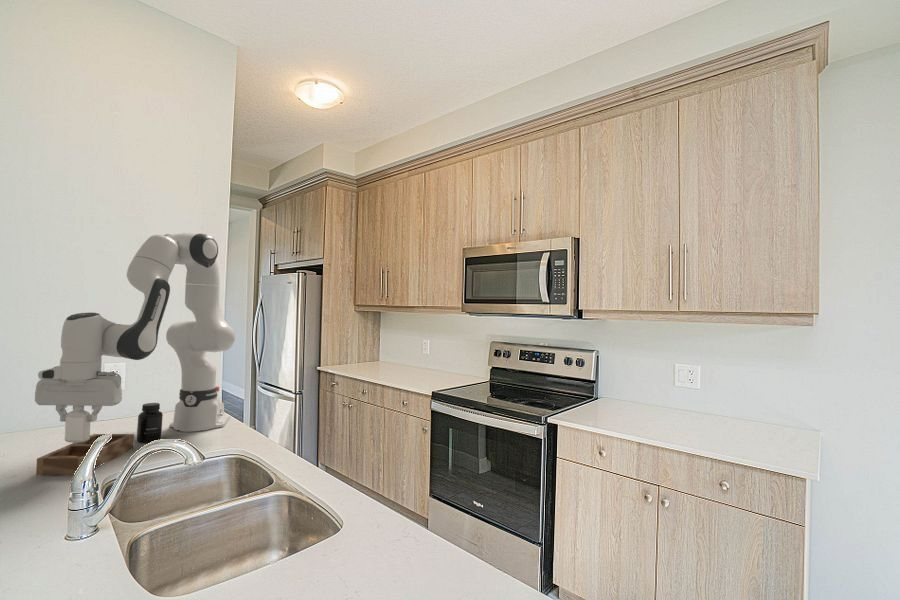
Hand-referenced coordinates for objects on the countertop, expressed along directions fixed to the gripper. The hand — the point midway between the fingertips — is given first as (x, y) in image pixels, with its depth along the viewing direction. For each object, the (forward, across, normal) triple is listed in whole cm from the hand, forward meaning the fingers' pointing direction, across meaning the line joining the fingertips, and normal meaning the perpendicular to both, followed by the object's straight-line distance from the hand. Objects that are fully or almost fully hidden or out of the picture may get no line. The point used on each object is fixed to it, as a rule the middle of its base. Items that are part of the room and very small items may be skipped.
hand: (78, 421), depth 121 cm
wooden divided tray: (+13, 0, -5) cm, 14 cm away
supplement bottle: (+13, -6, -24) cm, 28 cm away
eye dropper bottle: (+6, 0, 0) cm, 6 cm away
